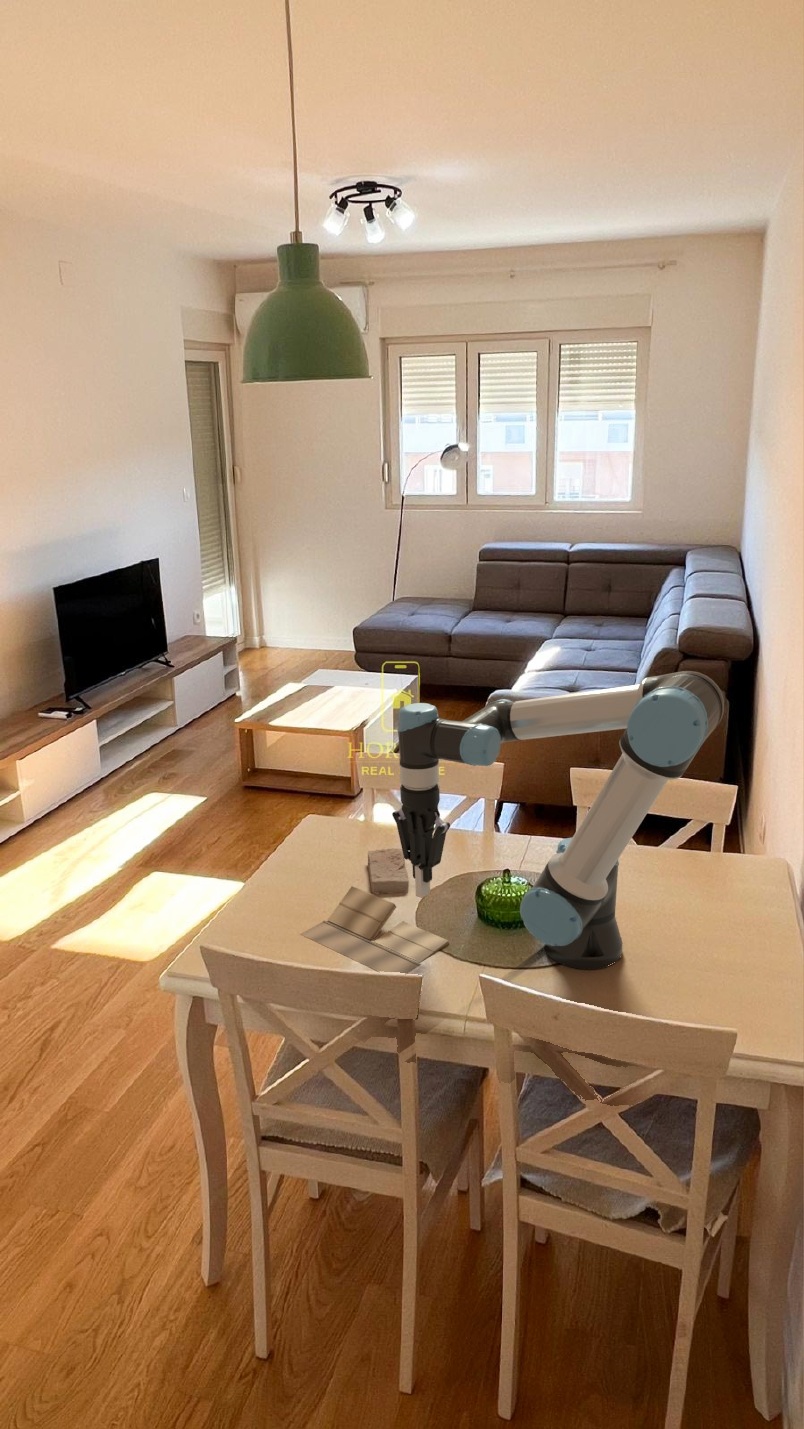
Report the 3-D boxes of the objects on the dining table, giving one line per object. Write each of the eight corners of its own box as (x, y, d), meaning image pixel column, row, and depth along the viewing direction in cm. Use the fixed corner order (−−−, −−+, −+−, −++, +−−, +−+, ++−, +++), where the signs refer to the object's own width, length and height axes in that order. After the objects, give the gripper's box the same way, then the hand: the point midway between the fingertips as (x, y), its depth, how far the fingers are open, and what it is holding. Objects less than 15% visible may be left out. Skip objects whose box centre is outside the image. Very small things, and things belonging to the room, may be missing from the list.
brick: (409, 898, 219) (409, 879, 218) (371, 900, 218) (371, 881, 217) (402, 865, 235) (402, 847, 233) (367, 867, 234) (366, 848, 233)
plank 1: (396, 906, 204) (394, 903, 203) (372, 942, 200) (369, 939, 199) (354, 889, 211) (351, 885, 211) (329, 923, 207) (327, 919, 207)
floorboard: (420, 970, 191) (420, 963, 191) (396, 986, 186) (396, 979, 186) (324, 926, 207) (324, 920, 207) (300, 940, 202) (300, 933, 202)
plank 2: (448, 945, 198) (448, 940, 197) (420, 967, 192) (419, 962, 191) (403, 926, 205) (402, 920, 205) (374, 946, 199) (373, 941, 199)
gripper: (458, 785, 189) (460, 896, 196) (406, 771, 197) (410, 878, 204) (433, 797, 183) (436, 911, 190) (381, 782, 192) (385, 892, 199)
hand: (423, 894), depth 197 cm, fingers closed
